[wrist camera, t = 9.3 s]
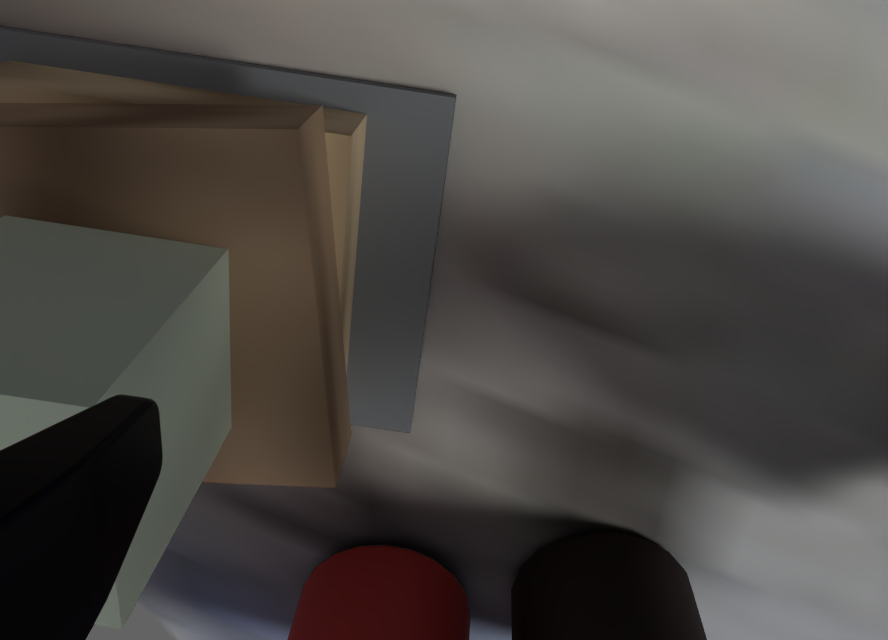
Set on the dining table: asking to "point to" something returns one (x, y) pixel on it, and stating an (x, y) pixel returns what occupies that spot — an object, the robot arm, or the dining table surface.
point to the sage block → (118, 356)
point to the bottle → (604, 592)
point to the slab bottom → (340, 126)
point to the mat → (381, 205)
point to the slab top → (218, 225)
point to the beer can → (381, 598)
